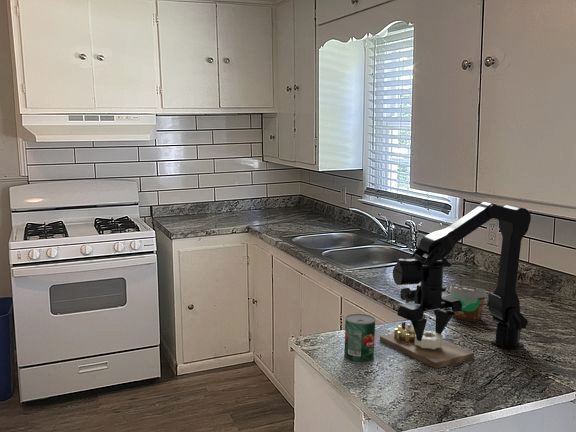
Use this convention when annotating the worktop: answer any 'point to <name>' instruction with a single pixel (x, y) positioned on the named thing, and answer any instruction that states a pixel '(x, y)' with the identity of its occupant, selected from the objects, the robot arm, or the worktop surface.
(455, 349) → the gear board
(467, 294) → the food container
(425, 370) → the worktop surface
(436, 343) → the loose gear
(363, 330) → the canned tomato
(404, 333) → the gear
